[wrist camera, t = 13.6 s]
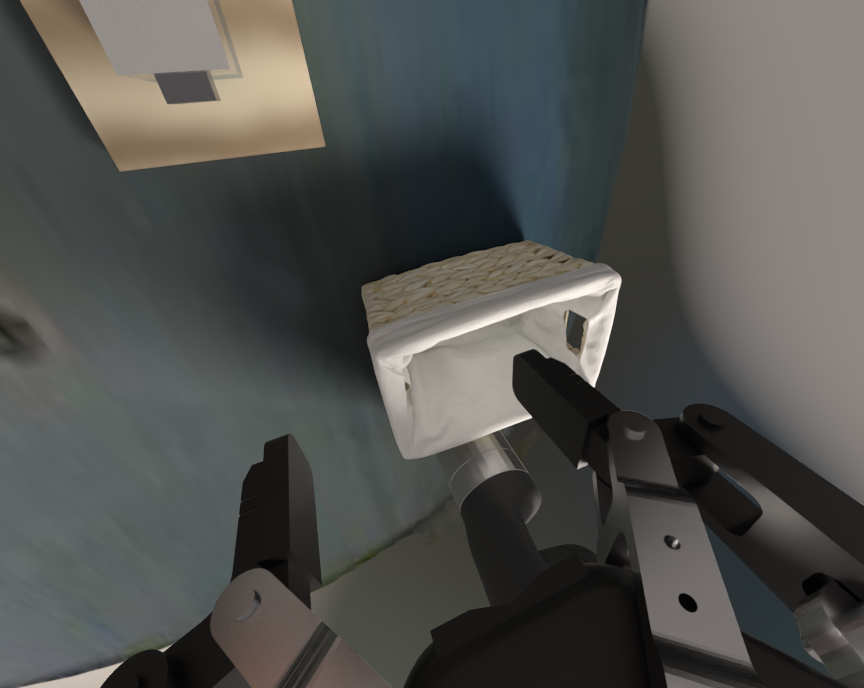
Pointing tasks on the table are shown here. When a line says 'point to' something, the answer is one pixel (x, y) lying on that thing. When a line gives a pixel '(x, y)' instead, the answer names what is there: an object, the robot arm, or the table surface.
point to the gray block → (167, 44)
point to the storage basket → (479, 337)
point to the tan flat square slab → (192, 122)
